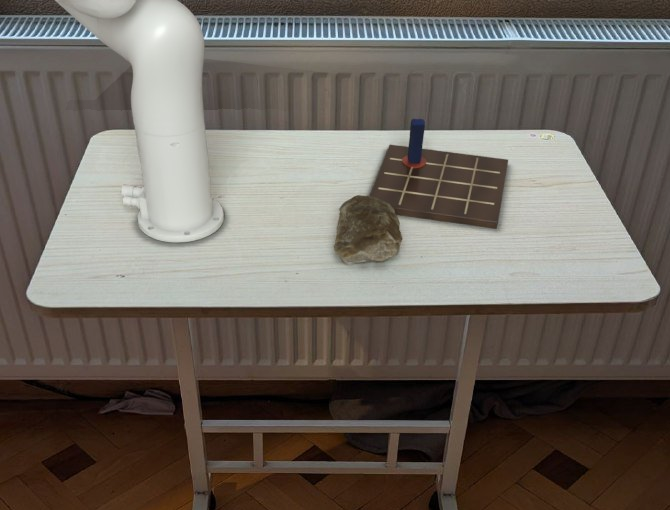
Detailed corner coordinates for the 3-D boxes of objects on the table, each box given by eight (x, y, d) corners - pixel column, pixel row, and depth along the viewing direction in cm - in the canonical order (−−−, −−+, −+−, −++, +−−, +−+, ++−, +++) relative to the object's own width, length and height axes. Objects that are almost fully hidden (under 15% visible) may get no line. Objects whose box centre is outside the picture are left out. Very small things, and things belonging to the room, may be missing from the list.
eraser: (407, 157, 137) (410, 117, 132) (420, 157, 137) (424, 118, 132) (407, 163, 135) (411, 123, 130) (421, 164, 135) (425, 124, 130)
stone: (326, 212, 123) (361, 174, 118) (366, 240, 126) (401, 204, 122) (330, 263, 114) (368, 223, 110) (373, 291, 117) (412, 253, 113)
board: (365, 210, 127) (366, 202, 126) (389, 150, 141) (389, 143, 140) (496, 229, 124) (498, 220, 123) (507, 166, 138) (508, 158, 137)
